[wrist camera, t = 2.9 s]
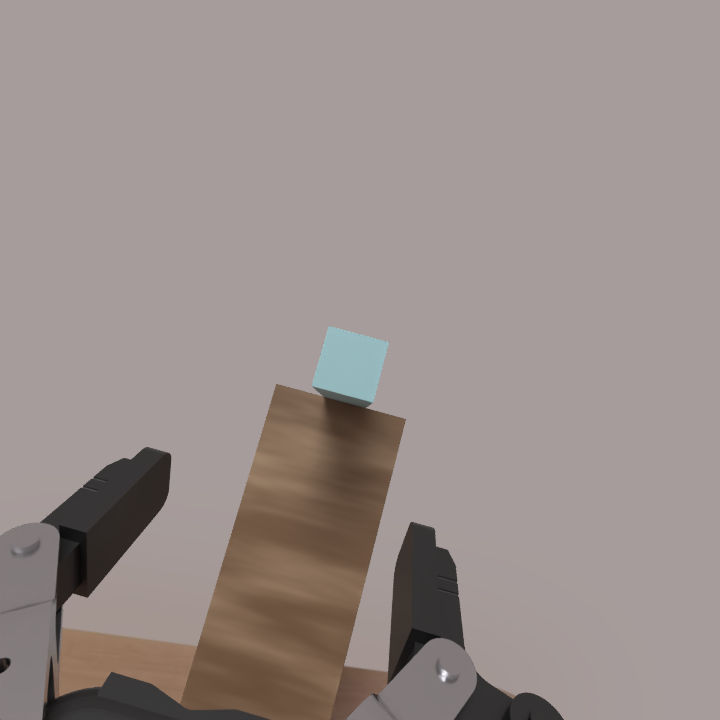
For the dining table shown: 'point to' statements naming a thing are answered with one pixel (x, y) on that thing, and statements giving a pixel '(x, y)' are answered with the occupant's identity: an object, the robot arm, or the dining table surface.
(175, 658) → the dining table surface
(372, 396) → the rail
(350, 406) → the pedestal
